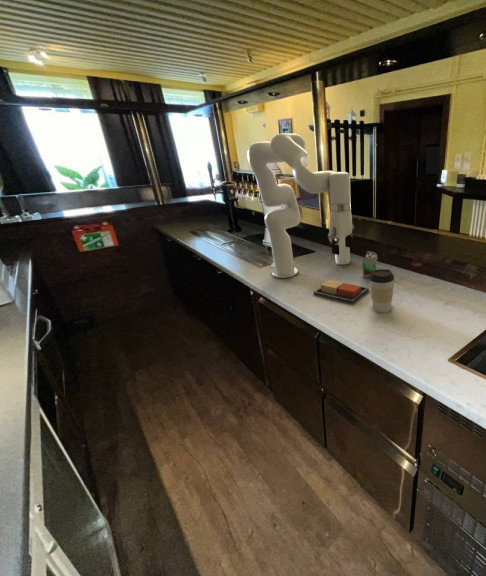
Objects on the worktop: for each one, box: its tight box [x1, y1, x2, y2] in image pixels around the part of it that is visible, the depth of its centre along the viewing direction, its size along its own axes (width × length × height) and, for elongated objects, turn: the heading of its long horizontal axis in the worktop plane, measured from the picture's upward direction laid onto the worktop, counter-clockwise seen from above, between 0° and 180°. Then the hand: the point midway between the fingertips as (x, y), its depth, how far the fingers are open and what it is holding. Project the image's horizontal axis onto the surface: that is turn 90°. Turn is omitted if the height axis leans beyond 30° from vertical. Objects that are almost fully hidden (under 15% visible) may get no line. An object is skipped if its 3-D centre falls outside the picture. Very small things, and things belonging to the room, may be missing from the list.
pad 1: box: [320, 279, 345, 295], centre depth 130 cm, size 8×6×3 cm
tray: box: [313, 279, 370, 305], centre depth 128 cm, size 19×14×2 cm
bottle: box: [334, 236, 351, 266], centre depth 157 cm, size 8×8×30 cm
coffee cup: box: [369, 268, 395, 313], centre depth 112 cm, size 9×9×15 cm
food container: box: [362, 250, 379, 278], centre depth 144 cm, size 12×6×10 cm, turn 168°
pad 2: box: [337, 282, 361, 299], centre depth 125 cm, size 8×6×3 cm
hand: (342, 250), depth 121 cm, fingers open, 9 cm apart
